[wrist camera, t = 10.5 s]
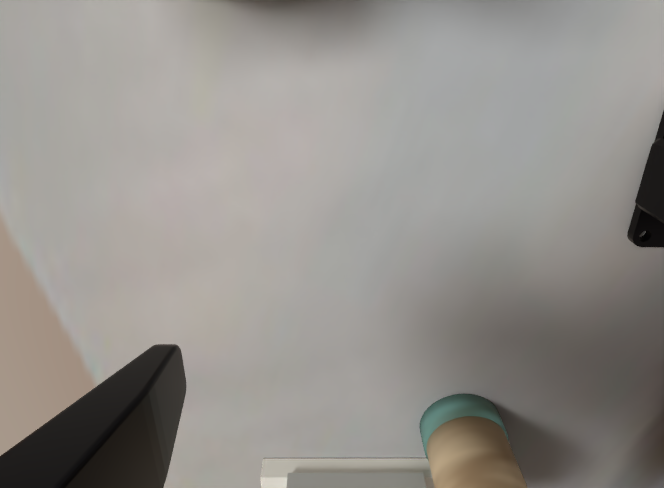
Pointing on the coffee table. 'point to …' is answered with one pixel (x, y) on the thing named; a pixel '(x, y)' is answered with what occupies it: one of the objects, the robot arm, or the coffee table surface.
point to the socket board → (346, 473)
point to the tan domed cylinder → (468, 445)
